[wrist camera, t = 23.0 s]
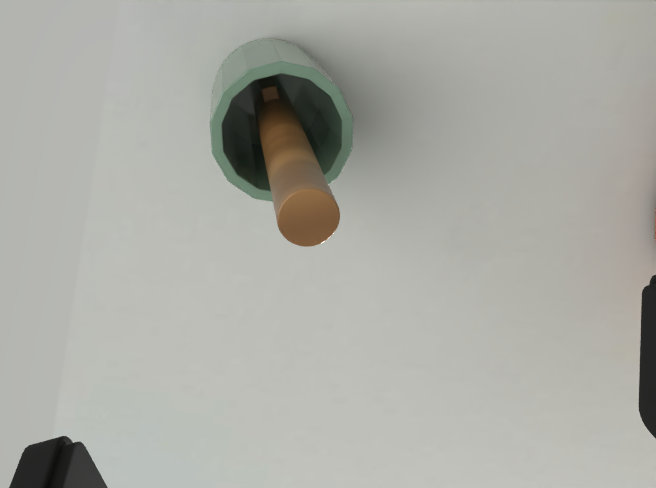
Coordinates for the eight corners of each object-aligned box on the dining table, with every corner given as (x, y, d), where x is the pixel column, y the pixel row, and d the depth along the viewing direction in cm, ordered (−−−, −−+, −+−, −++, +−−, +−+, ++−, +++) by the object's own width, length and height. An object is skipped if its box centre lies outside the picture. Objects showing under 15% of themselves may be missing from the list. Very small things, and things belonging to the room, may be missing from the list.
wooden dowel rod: (246, 80, 33) (265, 179, 19) (283, 71, 33) (328, 163, 19) (262, 137, 35) (290, 269, 20) (296, 128, 35) (349, 254, 20)
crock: (197, 54, 33) (190, 83, 26) (313, 25, 33) (338, 46, 26) (230, 163, 36) (232, 217, 28) (337, 136, 36) (365, 182, 29)
